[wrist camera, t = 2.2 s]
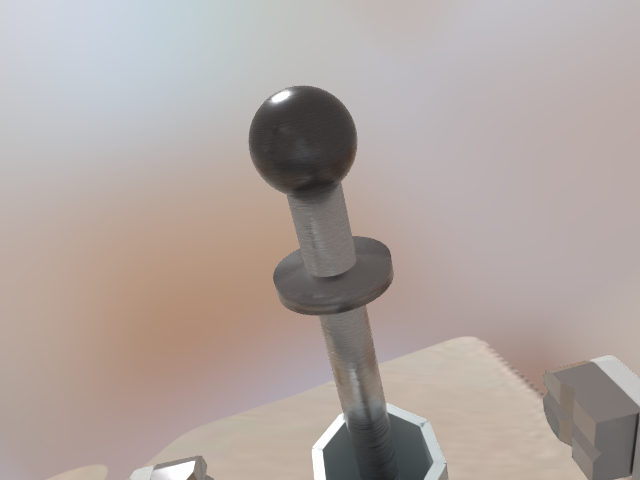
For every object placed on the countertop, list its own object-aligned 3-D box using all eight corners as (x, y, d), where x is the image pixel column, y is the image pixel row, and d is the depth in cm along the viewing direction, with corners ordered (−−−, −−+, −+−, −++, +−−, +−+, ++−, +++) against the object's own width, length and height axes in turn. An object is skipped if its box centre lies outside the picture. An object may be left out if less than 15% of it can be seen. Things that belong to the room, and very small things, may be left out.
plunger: (345, 543, 26) (211, 113, 16) (333, 458, 32) (228, 96, 21) (442, 520, 26) (374, 74, 16) (413, 438, 32) (348, 68, 21)
